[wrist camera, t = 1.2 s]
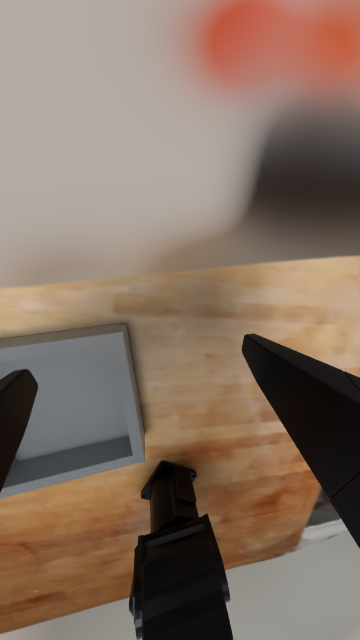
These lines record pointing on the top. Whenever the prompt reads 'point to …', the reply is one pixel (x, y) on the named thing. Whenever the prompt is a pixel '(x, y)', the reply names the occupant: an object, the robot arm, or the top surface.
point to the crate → (75, 406)
